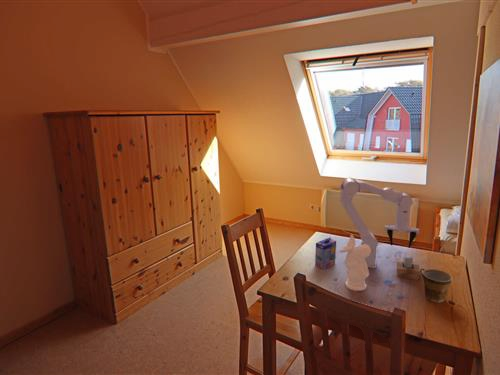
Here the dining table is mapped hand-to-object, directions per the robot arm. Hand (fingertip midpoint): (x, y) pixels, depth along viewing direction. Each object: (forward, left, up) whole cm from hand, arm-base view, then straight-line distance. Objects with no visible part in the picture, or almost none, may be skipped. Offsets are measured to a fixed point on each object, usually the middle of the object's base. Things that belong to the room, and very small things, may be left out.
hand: (400, 245), depth 152 cm
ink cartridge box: (-33, -12, -10) cm, 37 cm away
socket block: (+4, -8, -10) cm, 13 cm away
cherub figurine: (-19, -28, -10) cm, 35 cm away
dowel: (+4, -8, -10) cm, 13 cm away
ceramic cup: (+12, -24, -10) cm, 29 cm away
